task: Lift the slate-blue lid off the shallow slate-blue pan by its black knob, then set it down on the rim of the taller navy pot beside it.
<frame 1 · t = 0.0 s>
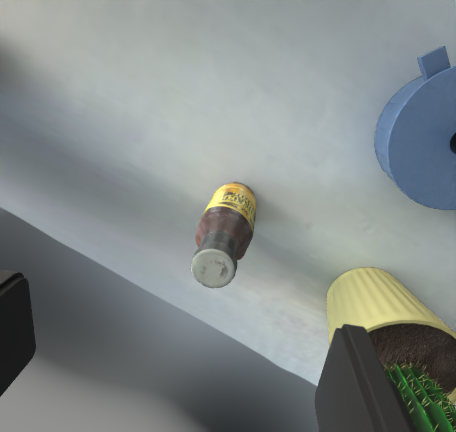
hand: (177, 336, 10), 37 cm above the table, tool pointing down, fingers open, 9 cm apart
sauce bottle: (233, 199, 48), on the table
potted cactus: (363, 297, 52), on the table
pan: (434, 133, 42), on the table
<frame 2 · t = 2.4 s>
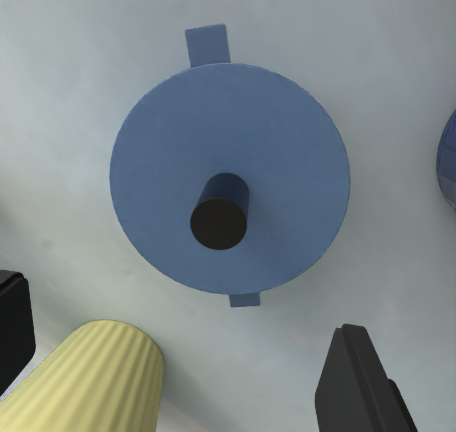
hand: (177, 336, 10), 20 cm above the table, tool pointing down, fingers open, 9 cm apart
potted cactus: (116, 358, 38), on the table
lid: (227, 191, 23), point 6 cm above the table, touching pan
pan: (233, 169, 28), on the table
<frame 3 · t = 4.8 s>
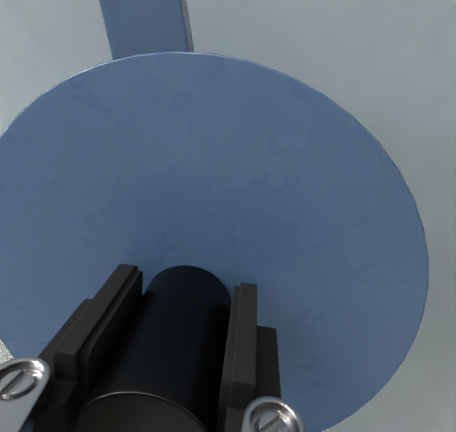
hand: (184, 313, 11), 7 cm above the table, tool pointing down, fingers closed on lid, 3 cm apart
lid: (191, 292, 12), point 6 cm above the table, touching gripper, pan
pan: (212, 227, 18), on the table
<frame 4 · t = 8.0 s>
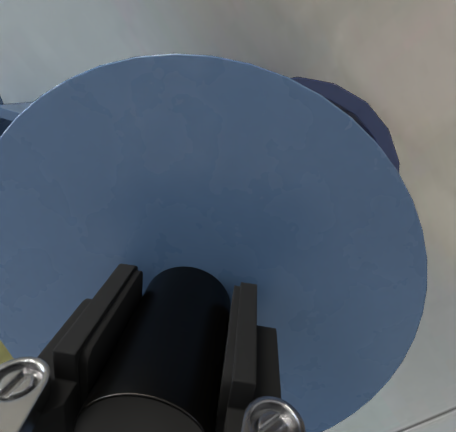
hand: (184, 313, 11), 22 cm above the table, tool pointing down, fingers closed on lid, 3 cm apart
pot: (279, 159, 31), on the table
lid: (191, 293, 12), point 21 cm above the table, touching gripper
pan: (50, 178, 34), on the table
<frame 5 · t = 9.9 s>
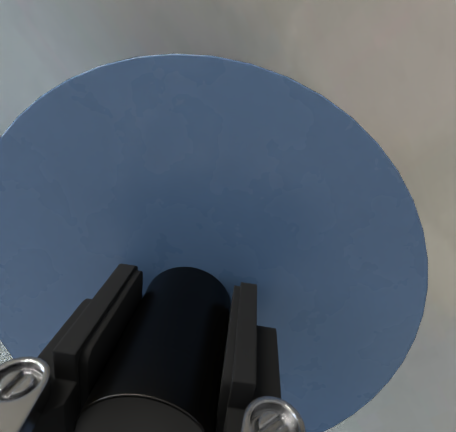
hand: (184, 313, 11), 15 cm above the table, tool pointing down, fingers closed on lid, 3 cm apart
lid: (191, 293, 12), point 14 cm above the table, touching gripper
when the fingers open (11 cm above the table, at t = 11.2 s): lid stays where it is, resting on pot.
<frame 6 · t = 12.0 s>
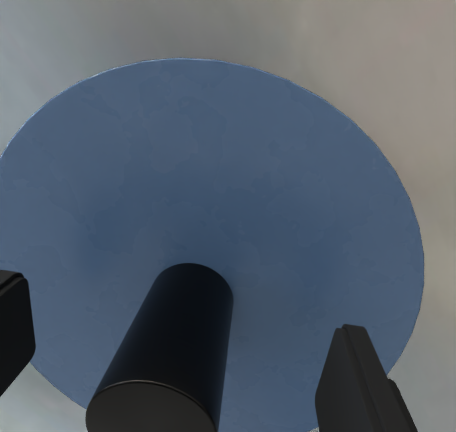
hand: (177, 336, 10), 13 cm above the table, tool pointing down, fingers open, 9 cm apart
lid: (195, 289, 13), point 10 cm above the table, touching pot
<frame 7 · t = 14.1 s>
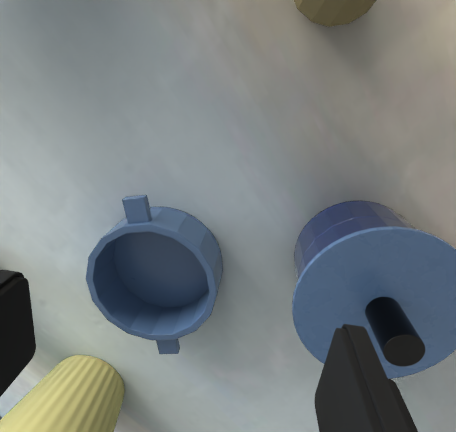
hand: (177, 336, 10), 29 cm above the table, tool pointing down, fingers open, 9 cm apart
pot: (353, 255, 40), on the table
potted cactus: (90, 382, 52), on the table
lid: (380, 306, 30), point 10 cm above the table, touching pot
pan: (165, 261, 43), on the table
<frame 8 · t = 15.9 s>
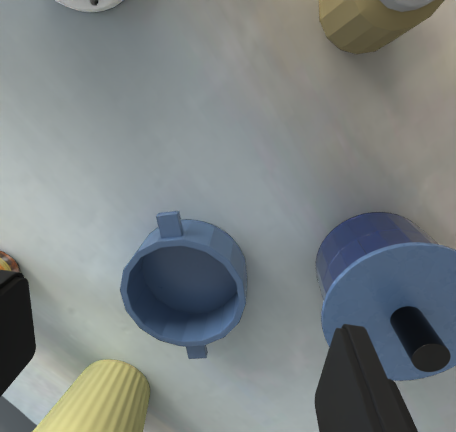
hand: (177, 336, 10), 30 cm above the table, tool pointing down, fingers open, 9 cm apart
pot: (371, 263, 42), on the table
sauce bottle: (1, 265, 47), on the table
potted cactus: (116, 385, 54), on the table
squeeze bottle: (354, 11, 32), on the table
lid: (403, 314, 33), point 10 cm above the table, touching pot
pan: (191, 270, 44), on the table
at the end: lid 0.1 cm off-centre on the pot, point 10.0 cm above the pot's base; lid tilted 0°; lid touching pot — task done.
